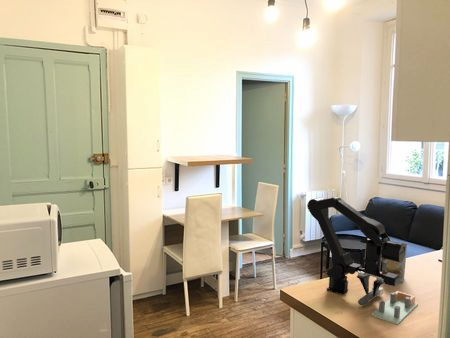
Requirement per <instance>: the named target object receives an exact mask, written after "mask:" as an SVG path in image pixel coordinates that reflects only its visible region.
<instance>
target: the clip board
mask: <svg viewBox="0 0 450 338" xmlns="http://www.w3.org/2000/svg"><path fill="white" fill-rule="evenodd" d="M389 295H390V298H389V299H388V300H387V301H383V300H381V301H379V302H378V303H379V304H378V308H377V309H375V310H373V312H372V313H370V315H371V316H372V317H375V318H377V319H381V320H383V321H386V322H388V323H392V324H395V325H399V324H400V323H401V322H402V321H403V320H404V319H406V317H408V315H409V314H410V313H411V312H413V310H414V309H416V308H417V306H418V305H419V304H418V302H416V296H415V295H412V294H409V293H405V292H403V291H402V292H401V291H399V290H396V291H394V292H390V294H389Z"/></svg>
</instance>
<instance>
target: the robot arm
mask: <svg viewBox="0 0 450 338" xmlns="http://www.w3.org/2000/svg"><path fill="white" fill-rule="evenodd" d="M306 207H307V210H308V212H309V213H310V214H311V216H312V217H313V218H314V219H315V220H316V221H317V222H318V225H319V227H320V230H321V232H322V235H323V237H324V240H325V241H326V244H327V246H328V249H329V251H330V254H331V257H330V258H331V268H330V269H328V270H326V273H327V277H328V286H327V287H326V290H328V291H330V292H333V293H335V294H339V295H342V294H345V293H346V292H347V291H348V290H349V288H348V287H349V280H348V276H347V275H349V274H350V275H354V274H356V273H357V275H356V278H357V279H358V280H359V281H360V284H361V285H362V287H363V290H364V292H365V295H366V294H368V293H369V292H370V291H369V290H370V283H369V281H370V277H373V278H376V279H375V280H373V283H372V284H373V285H372V286H373V297H374V298H376V294H377V292H378V289H379V287H381V286H382V285H383V284H385V285H387V286H391V287H396V286H397V285H399V283H401V282H400V277H399V275H397V274H393V273H388V274H386V275H385V274H381V273H382V272H383V271H385V270H386V265H387V263H384V262H382V261H383V257H384V259H387V260H391V261H395V262H399V263H401V262H402V261H403V259H404V253H405V252H404V248H403V244H402V243H403V242H400V243H395V242H396V241H394V242H390V241H391V238H390V237H389V235H388V234H387V232H386V228H385V225H384V224H382V223H381V222H379V221H378V220H375V219H374V218H370V217H367V216H366V215H364V214H362V213H361V212H359V211H358V210H357V209H355V208H354V207H352V206H351V205H350V204H348V203H347V202H346V201H345V200H343V199H342V198H341V197H339V196H333V197H330V198H323V197H317V198H316V197H315V198H313V199H309V201H308V202H307V206H306ZM331 208H333V209H335V210H336V211H337V212H339V214H341V215H342V216H344V217H345V218H346V219H348V220H349V221H351V223H353V224H355V225H356V226H357V227H358V228H359V231H360V232H361V233H362V234H363V236H364V237H363V238H362V239H361V240H359V242H360V243H363V244H365V249H364V250H365V251H364V258H363V262H364V267H362V266H363V265H361V263H360V264H359V263H356V262H355V260H353V258H352V255H351V253H350V252H349V251H348V252H347V251H345V250H344V249H343V247H342V245H341V243H340V240H339V237H338V236H337V233H336V231H335V228H334V227H333V224H332V222H331V219H330V217H329V209H331Z"/></svg>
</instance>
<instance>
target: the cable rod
mask: <svg viewBox="0 0 450 338" xmlns="http://www.w3.org/2000/svg"><path fill="white" fill-rule="evenodd" d="M383 294H384V288H383V287H381V286H380V287H379V289H378V292H377V294H376V296H378V297H381V296H382V295H383ZM376 296H375V297H376ZM375 297H373V287H371V290H370V291H369V293H368V294H366V293H365V295H363V296H361V297H360V298H359V299H358V300H357V303H358V305H359V306H360V307H362V306H365V305H366V304H367V303H369V302H370V301H371V300H373V299H374V298H375Z"/></svg>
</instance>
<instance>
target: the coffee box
mask: <svg viewBox="0 0 450 338" xmlns="http://www.w3.org/2000/svg"><path fill="white" fill-rule="evenodd" d="M390 242H395V243H402V244H403V248H404V252H405V253H404V259H403V261H402V262H401V263H399V262H395V261H391V260H387V259H384V257H382V260H383V261H382V262H384V263H387V265H386V270H385V271H383V272H380V273H381V274H385V275H386V274H388V273H393V274H397V275H399V277H400V283H403V282H404V280H405V273H406V262H407V261H406V260H407V248H408V246H407V245H408V244H407V243H404V242H398V241H393V240H390Z"/></svg>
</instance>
